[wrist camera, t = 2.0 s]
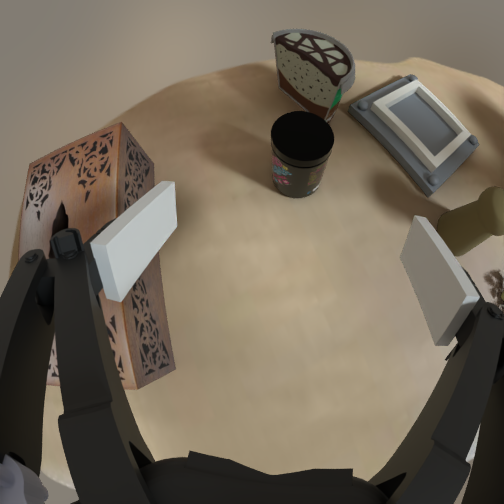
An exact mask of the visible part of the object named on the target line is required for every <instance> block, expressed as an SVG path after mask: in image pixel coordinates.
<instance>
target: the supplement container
mask: <svg viewBox="0 0 504 504" xmlns="http://www.w3.org/2000/svg"><path fill="white" fill-rule="evenodd" d="M333 144H334V134H333V131H332V129H331V127H330V125H329V124H328V123H327V122H326V121H325V120H324V119H323V118H321V117H320V116H318V115H316V114H313V113H310V112H305V111H294V112H290V113H287V114H284V115H282V116H281V117H279V118H278V119H277V120H276V121H275V123H274V124H273V126H272V129H271V147H272V178H273V182H274V184H275V186H276V188H277V189H278V190H279V191H280V192H281V193H283V194H284V195H286V196H289V197H292V198H303V197H307V196H309V195H311V194H313V193H314V192H315V191H316V190H317V189H318V187H319V185H320V182H321V179H322V176H323V173H324V170H325V167H326V164H327V161H328V158H329V156H330V154H331V151H332V147H333Z"/></svg>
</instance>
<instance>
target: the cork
mask: <svg viewBox="0 0 504 504" xmlns="http://www.w3.org/2000/svg"><path fill="white" fill-rule="evenodd" d="M437 233H438V234H439V236H440V237H441V238H442V240H443V241H444V242H445V244H446V245H447V247H448V248H449V249H450V251H451V252H452V254H453V255H454V256H461V255H464V254H465V253H467V252H468V251H470V250H471V249H473V248H474V247H476V246H477V245H479V244H480V243H482V242H483V241H485V240H486V239H487V238H489V237H490V236H492V235H495V236H501V235H504V190H503V189H502V188H499V187H490V188H487V189H486V190H485V191H484V192H482V194H481V195H480V197H479V199H478V200H477V201H475V202H472V203H469V204H467V205H464V206H462V207H459V208H456V209H454V210H451V211H449V212H446V213H444V214H443V215H442V216H441V217H440V219H439V221H438V225H437Z"/></svg>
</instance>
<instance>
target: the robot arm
mask: <svg viewBox="0 0 504 504" xmlns="http://www.w3.org/2000/svg"><path fill="white" fill-rule="evenodd" d="M176 227H177V215H176V199H175V182H171V181H161V182H160V183H159V184H158V185H156V186H155V187H154V188H152V189H151V190H150V191H149V192H148V193H146V194H145V195H144V196H143V197H141V198H140V199H139V200H138V201H137V202H135V203H134V204H133V205H132V206H131V207H129V208H128V209H127V210H126V211H125V212H124V213H123V214H121V215H120V216H119V217H118V218H115V219H113V220H111V221H109V222H107V223H106V224H105V225H104V226H103V227H101V229H99V230H98V231H97V232H96V234H94V235H93V236H91V237H90V238H89V239H88V240H87V241H86V242H85V243H84V244H83V242H82V238H81V234H80V231H79V230H78V229H76V228H68V229H64V230H61V231H59V232H57V233H56V234H55V235H54V236H53V237H52V238H51V240H50V242H51V245H52V248H53V251H54V254H55V257H56V258H52V259H46V257H45V254H44V252H43V250H41V249H34V250H29V251H28V252H26V253H25V254H24V255H23V256H22V257H21V258H20V260H19V261H18V263H17V265H16V267H15V269H14V271H13V273H12V275H11V277H10V279H9V281H8V283H7V285H6V287H5V289H4V291H3V293H2V295H1V297H0V504H45V503H44V501H46V500H47V499H48V491H47V489H46V488H45V487H44V486H43V485H42V482H41V480H40V479H39V474H40V467H41V460H42V429H43V412H44V400H45V391H46V382H47V375H48V368H49V362H50V356H51V350H52V345H53V340H54V335H55V342H56V355H57V365H58V374H59V381H60V388H61V395H62V401H63V406H64V414H62V415H60V416H59V418H58V426H59V432H60V436H61V441H62V445H63V449H64V453H65V457H66V460H67V464H68V467H69V470H70V474H71V477H72V480H73V483H74V486H75V489H76V492H77V494H78V497H79V500H78V501H76V502H73V503H71V504H454V502H455V500H456V498H457V496H458V494H459V493H460V491H461V489H462V487H463V485H464V483H465V481H466V479H467V477H468V475H469V472H470V469H471V466H470V464H469V463H468V462H466V457H467V454H468V452H469V450H470V448H471V445H472V443H473V441H474V438H475V436H476V433H477V430H478V428H479V425H480V430H479V436H478V442H477V447H476V452H475V457H474V461H473V466H472V469H471V473H470V477H469V481H468V485H467V487H466V491H465V494H464V497H463V500H462V503H461V504H504V315H503V312H502V311H501V310H500V309H499V308H498V307H497V306H496V305H494V304H492V303H489V302H485V300H484V298H483V297H482V295H481V293H480V292H479V290H478V288H477V287H476V286H475V283H474V282H473V280H472V279H471V277H470V275H469V274H468V272H467V271H466V270H465V269H464V268H463V267H462V266H461V265H460V264H459V263H458V261H457V260H456V258H455V257H454V255H453V254H452V252H451V251H450V249H449V248H448V247H447V245H446V244H445V242H444V241H443V240H442V238H441V237H440V236H439V234H438V233H437V231H436V230H435V229H434V228H433V226H432V225H431V224H430V222H429V221H428V220H427V218H425V217H421V216H416V215H414V218H413V221H412V224H411V227H410V230H409V233H408V236H407V239H406V242H405V245H404V247H403V250H402V253H401V255H400V259H401V261H402V263H403V265H404V267H405V270H406V272H407V274H408V276H409V279H410V281H411V283H412V286H413V288H414V291H415V293H416V295H417V298H418V300H419V303H420V305H421V308H422V311H423V313H424V316H425V319H426V321H427V324H428V327H429V330H430V332H431V335H432V338H433V341H434V344H435V346H448V345H449V344H450V342H451V341H452V340H453V338H454V337H455V336H456V339H457V341H458V343H457V344H456V346H455V347H454V348H453V350H452V351H451V352H450V353H449V355H448V356H447V357H446V359H445V360H446V361H447V360H448V359H449V360H448V362H447V364H446V366H445V368H444V370H443V372H442V375H441V377H440V379H439V381H438V383H437V384H436V386H435V388H434V390H433V392H432V394H431V396H430V398H429V399H428V401H427V403H426V405H425V407H424V408H423V410H422V412H421V413H420V415H419V417H418V418H417V420H416V422H415V423H414V425H413V426H412V428H411V430H410V431H409V433H408V434H407V436H406V437H405V439H404V440H403V442H402V443H401V445H400V446H399V447H398V449H397V450H396V452H395V453H394V454H393V456H392V457H391V458H390V460H389V461H388V462H387V464H386V465H385V466H384V467H383V468H382V469H381V470H380V471H379V472H378V473H377V474H376V475H375V476H373V477H372V478H371V479H370V480H369V481H368V482H367V481H365V480H363V479H360V478H357V477H354V476H353V469H311V470H305V471H300V472H294V473H287V474H280V475H269V474H265V473H263V472H260V471H257V470H255V469H252V468H249V467H247V466H244V465H242V464H239V463H237V462H235V461H232V460H230V459H224V458H219V457H215V456H210V455H206V454H201V453H197V452H193V451H190V452H189V455H188V457H178V458H169V459H163V460H160V461H156V462H155V460H154V458H153V456H152V454H151V452H150V450H149V449H148V447H147V445H146V444H145V442H144V440H143V438H142V436H141V434H140V431H139V429H138V426H137V424H136V421H135V419H134V416H133V413H132V411H131V408H130V405H129V403H128V400H127V397H126V394H125V391H124V388H123V385H122V382H121V379H120V376H119V372H118V369H117V366H116V362H115V359H114V355H113V351H112V348H111V344H110V340H109V336H108V332H107V328H106V323H105V319H104V314H103V310H102V305H101V300H100V297H99V292H100V291H101V290H102V289H104V292H105V295H106V298H107V299H110V300H114V301H118V302H122V300H123V299H124V297H125V296H126V295H127V293H128V292H129V290H130V289H131V287H132V286H133V285H134V283H135V282H136V280H137V279H138V278H139V276H140V275H141V273H142V272H143V271H144V269H145V268H146V267H147V265H148V264H149V263H150V261H151V260H152V259H153V257H154V256H155V255H156V253H157V252H158V251H159V249H160V248H161V247H162V245H163V244H164V243H165V241H166V240H167V239H168V238H169V236H170V235H171V234H172V232H173V231H174V230H175V229H176ZM480 422H481V423H480Z"/></svg>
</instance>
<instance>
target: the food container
mask: <svg viewBox="0 0 504 504" xmlns="http://www.w3.org/2000/svg"><path fill="white" fill-rule="evenodd" d="M271 43H274V47H275V57H276V67H277V76H278V87H279V89H281V90H282V91H283V92H284V93H285V94H287V95H288V96H289V97H290V98H291V99H293V100H294V101H295V102H296V103H297V104H298V105H300V106H301V107H302V108H303V109H304V110H305V111H306V112H310V113H313V114H316V115H318V116H320V117H321V118H323V119H324V120H325V121H326V122H327V123H329V122H330V120H331V119H332V117H333V116H334V113H335V111H336V109H337V106H338V104H339V102H340V99H341V97H342V95H343V93H345V92H346V91H348V90H349V89H350V88H351V86H352V85H353V83H354V80H355V63H354V60H353V56H352V54H351V52H350V51H349V50H348V48H347V47H346V46H345V45H344V44H342V43H341V42H340V41H338V40H336V39H335V38H333V37H331V36H329V35H326V34H324V33H321V32H317V31H313V30H306V29H287V30H281V31H277V32H274V33H273V35H272V38H271Z"/></svg>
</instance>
